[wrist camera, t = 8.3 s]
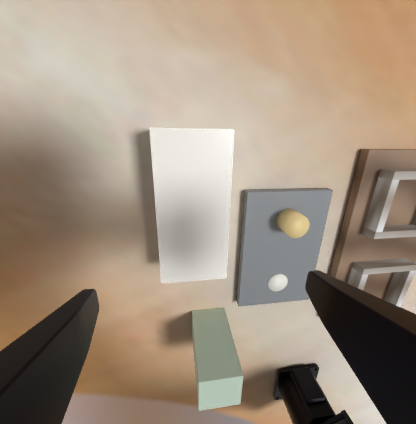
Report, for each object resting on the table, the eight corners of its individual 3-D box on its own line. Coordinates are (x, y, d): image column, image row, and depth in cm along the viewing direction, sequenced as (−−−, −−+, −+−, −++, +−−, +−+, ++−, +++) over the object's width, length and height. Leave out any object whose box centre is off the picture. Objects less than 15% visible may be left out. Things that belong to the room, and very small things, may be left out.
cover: (218, 255, 23) (226, 278, 20) (163, 259, 23) (161, 283, 19) (222, 130, 19) (234, 129, 15) (154, 128, 18) (149, 127, 14)
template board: (303, 293, 27) (318, 311, 25) (236, 300, 26) (243, 320, 23) (326, 187, 22) (347, 195, 20) (244, 189, 21) (255, 198, 18)
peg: (222, 331, 28) (240, 404, 20) (192, 335, 27) (198, 410, 20) (224, 307, 26) (243, 375, 19) (192, 310, 26) (198, 382, 18)
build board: (388, 307, 31) (406, 321, 28) (319, 315, 29) (331, 330, 27) (450, 149, 23) (481, 151, 21) (361, 149, 22) (383, 150, 19)
